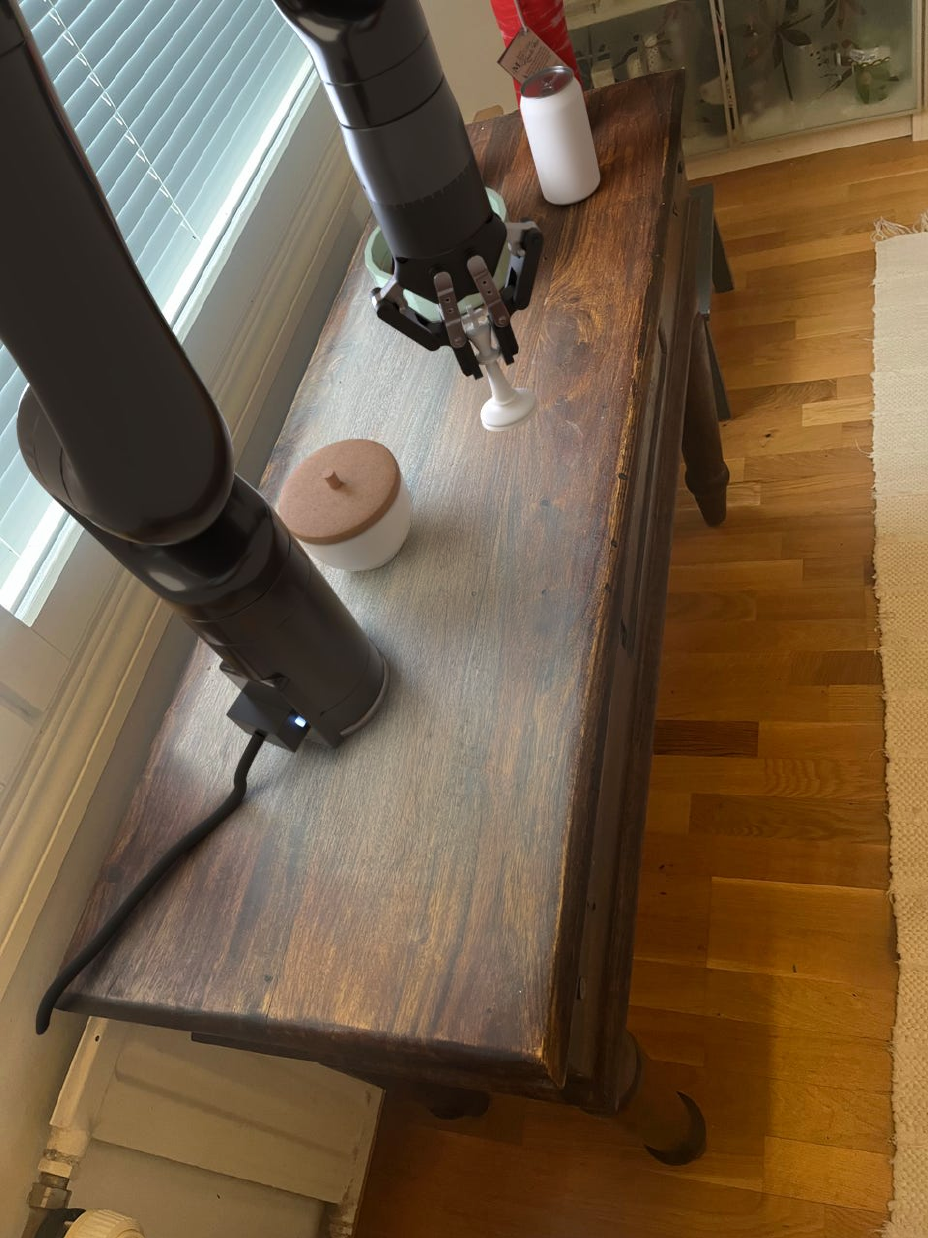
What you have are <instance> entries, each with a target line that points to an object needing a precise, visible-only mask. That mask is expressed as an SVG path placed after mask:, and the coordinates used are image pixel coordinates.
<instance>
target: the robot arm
mask: <svg viewBox="0 0 928 1238" xmlns="http://www.w3.org/2000/svg"><path fill="white" fill-rule="evenodd" d="M270 1H271V2H272V4H273V5H274V7H275V8H276V9H277V11H278V12H279V15H281V17H282V18H283V20H284V21H285V22H286V24H287V25H288V26H289V28H291V30H292V31H293V32H294V34H295V35H296V36H297V37H298V38H299V40H300V41H301V43H302V44H303V45H304V47H305V49H306V50H307V53H308V54H309V56H310V58H311V61H312V64H313V67H314V69H315V71H316V74H317V76H318V79H319V81H320V83H321V86H322V88H323V91H324V92H325V94H326V97H327V99H328V101H329V105H330V106H331V108H332V111H333V113H334V115H335V117H336V119H337V122H338V123H337V124H338V125H339V128H340V130H341V134H342V137H343V141H344V144H345V148H346V151H347V155H348V158H349V160H350V162H351V164H352V167H353V170H354V174H355V177H356V179H357V180H358V182H359V183H360V186H361V187H362V190H363V192H364V194H365V196H366V199H367V201H368V203H369V205H370V208H371V210H372V213H373V215H374V217H375V219H376V221H377V225H379V226H380V228H381V231H382V233H383V235H384V238H385V240H386V242H387V244H388V247H389V249H390V251H391V254H392V263H391V270H392V273H393V276H392V277H391V278H390V279H389V281H388V282H387V283H386V284H385V286H384V287H383V288H380V287H374V288H373V289H372V290H371V291H370V293H369V299H370V301H371V304H372V306H373V308H374V311H375V314H376V316H377V318H378V319H379V320H380V321H382V322H384V323H385V324H387V325H388V326H390V327H391V328H392V329H394V330H396V331H398V332H399V333H401V334H402V335H404V336H405V337H407V338H409V339H410V340H411V341H413V342H415V343H416V344H418V345H419V346H421V347H422V348H424V349H425V350H427V351H429V352H437V351H438V350H439V349H440V348H441V347H449V348H451V351H452V353H453V354H454V357H455V359H456V362H457V364H458V366H459V369H460V370H461V372H462V374H463V375H464V376H465V377H466V378H469V377H470V376H473V378H474V380H475V381H478V380H480V379H482V378H484V374H483V372H482V368H481V365H479V364H478V361H477V359H476V353H475V352H474V349H473V346H472V342H470V341H469V339H468V337H467V335H466V331H465V329H464V327H463V322H462V319H461V317H462V314H461V315H460V312H459V308H458V304H457V303H459V302H460V301H461V300H463V299H464V298H465V297H466V296H469V295H474V294H478V293H479V294H480V296H481V298H482V300H483V302H484V303H483V304H484V306H485V308H486V311H487V315H486V316H485V317H486V319H487V322H488V323H489V324H490V326H491V334H492V336H493V339H494V341H495V344H496V347H498V348H499V349H500V351H501V355H500V357H501V358H502V360H503V362H504V364H505V366H506V367H509V366H510V365H512V364H514V363H516V361H515V358H514V356H516V355H518V354H519V351H520V350H519V349H520V346H519V344H518V340H517V338H516V335H515V332H514V329H513V326H512V323H511V319H512V316H513V315H514V314H515V313H516V312H518V311H524V310H526V309H527V308H528V307H529V306H530V303H531V299H532V294H533V290H534V286H535V282H536V278H537V273H538V269H539V265H540V261H541V256H542V251H543V247H544V244H545V243H544V242H545V237H544V235H543V233H542V232H541V230H540V228H539V226H538V225H537V223H536V222H535V221H534V219H533V218H532V217H530V216H528V215H527V216H523V217H521V218H519V220H518V222H512V221H510V222H503V221H502V219H501V217H500V216H499V215H498V214H497V213H496V212H494V211H493V209H492V207H491V204H490V200H489V197H488V194H487V191H486V188H487V187H486V185H485V182H484V180H483V176H482V173H481V170H480V166H479V164H478V161H477V158H476V154H475V151H474V149H473V145H472V143H471V139H470V136H469V133H468V129H467V127H466V124H465V121H464V118H463V114H462V111H461V108H460V106H459V104H458V103H459V102H457V99H456V97H455V95H454V92H453V91H452V89H451V87H450V85H449V82H448V80H447V78H446V75H445V72H444V70H443V66H442V63H441V60H440V57H439V54H438V52H437V48H436V46H435V45H436V44H435V41H434V39H433V36H432V33H431V30H430V27H429V25H428V20H427V18H426V15H425V12H424V9H423V7H422V4H421V2H420V0H270ZM485 187H486V188H485ZM505 241H507V242H508V243H507V245H508V248H509V249H510V251H511V253H512V254H511V259H510V263H509V268H508V273H507V278H506V283H505V285H504V288H503V290H501V291H498V290H497V288H496V286H495V283H494V281H493V277H494V275H495V272H496V269H497V266H498V263H499V260H500V257H501V253H502V250H503V247H504V244H505ZM404 289H406V290H408V291H410V292H412V293H414V294H416V295H418V296H420V297H422V298H424V299H426V300H428V301H430V302H432V303H434V304H436V306H437V309H438V312H439V316H440V319H441V320H440V321H430V320H429V319H427V318H426V317H424V316H423V315H421V314H420V313H418V312H417V311H415V310H414V309H412V308H411V307H409V306H408V301H407V299H406V297H405V295H404V293H403V292H404ZM0 342H1V343H2V344H3V346H4V347H5V349H6V350H7V352H8V353H9V354H10V356H11V357H12V359H13V361H14V362H15V363H16V365H17V367H18V369H19V370H20V372H21V373H22V375H23V376H24V378H25V380H26V382H27V385H26V387H24V389H23V390H24V391H23V392H22V394H21V397H20V399H19V403H18V407H17V412H16V424H15V425H16V427H15V428H16V437H17V443H18V447H19V451H20V453H21V457H22V458H23V462H24V463H25V465H26V466H27V469H28V470H29V472H30V473H31V475H32V477H34V479H35V480H36V482H37V483H38V484H39V485H40V486H41V487H42V488H43V490H45V492H47V494H49V495H50V496H51V498H52V499H54V501H55V502H57V504H58V505H60V506H61V507H62V508H63V509H64V510H65V511H66V512H67V513H68V514H69V515H70V516H71V517H72V518H73V519H74V520H75V521H76V522H77V523H78V524H79V525H80V526H81V527H82V528H83V529H84V530H85V531H86V532H87V533H88V534H90V536H92V537H93V538H94V539H95V540H96V541H97V542H98V543H99V544H100V545H101V546H102V547H103V548H104V549H105V550H106V551H107V552H108V553H110V554H111V555H112V556H113V557H114V558H115V560H116V561H117V562H118V563H120V564H121V565H122V566H123V567H124V568H125V569H126V570H127V571H128V572H130V573H131V575H133V576H134V577H135V578H137V580H139V581H140V582H141V583H142V584H143V585H145V586H146V587H147V588H148V589H149V590H150V591H152V593H154V594H155V595H156V596H157V597H158V598H159V599H160V600H161V601H163V602H164V603H165V604H166V605H167V606H168V607H169V608H170V609H171V610H172V611H173V612H174V613H175V614H176V615H177V616H178V617H179V618H180V619H181V620H182V621H183V622H184V623H185V624H186V625H187V626H188V627H189V628H190V629H191V630H192V631H193V632H194V633H195V634H196V635H197V636H198V637H199V638H200V639H201V640H202V641H203V642H204V643H205V644H206V646H207V647H209V648H210V649H211V650H212V651H213V652H214V653H215V654H216V655H217V656H218V657H219V658H220V659H221V662H220V664H219V666H218V668H219V671H220V672H221V673H223V675H225V677H226V678H228V680H230V681H231V683H232V684H233V685H234V686H235V687H237V688H238V689H239V690H240V692H239V694H238V695H237V697H236V698H235V700H234V701H233V703H232V704H231V706H230V707H229V709H228V710H227V712H226V713H225V716H226V717H227V718H229V719H230V720H231V721H232V722H233V723H234V724H235V725H236V726H237V727H238V728H239V729H241V730H242V731H243V732H244V733H245V734H247V735H249V736H251V738H250V739H249V741H248V743H247V745H246V747H245V749H244V751H243V753H242V755H241V757H240V759H239V761H238V763H237V766H236V768H235V771H234V774H233V789H232V790H231V792H230V794H229V795H228V796H227V797H226V799H225V800H224V801H223V802H222V803H221V804H220V805H219V807H218V808H217V809H216V810H215V811H213V812H212V813H211V814H210V815H209V816H208V817H206V818H205V819H204V820H203V821H201V822H200V823H199V824H197V825H196V826H195V827H194V828H193V829H191V830H190V831H189V832H188V833H186V834H185V835H184V836H182V838H181V839H179V840H178V841H176V843H175V844H174V845H173V846H172V847H171V848H169V850H167V851H166V852H165V853H164V854H163V856H161V858H160V859H159V860H158V861H157V862H156V863H155V864H154V865H153V867H152V868H151V869H150V870H149V871H148V872H147V873H146V874H145V875H144V876H143V877H142V879H141V880H140V881H139V882H138V883H137V885H135V887H134V888H133V889H132V891H130V893H129V894H128V896H126V898H125V899H124V901H123V902H122V903H121V904H120V905H119V907H118V908H117V909H116V910H115V912H114V913H113V914H112V915H111V917H110V918H109V919H108V920H107V922H105V924H104V926H103V927H102V928H101V929H100V931H99V932H98V933H97V934H96V935H95V936H94V937H93V939H92V940H91V941H90V942H89V943H88V944H87V945H86V947H85V948H84V949H83V950H82V951H80V953H79V954H78V955H77V956H76V957H75V958H73V960H72V961H71V962H70V963H69V964H68V965H67V966H66V967H65V968H64V969H63V970H62V971H61V973H60V974H59V975H58V976H56V978H55V979H54V981H53V982H52V983H51V985H50V986H49V987H48V988H47V990H46V992H45V993H44V994H43V996H42V999H41V1001H40V1003H39V1005H38V1008H37V1011H36V1014H35V1015H36V1016H35V1034H36V1035H38V1036H41V1035H43V1034H45V1032H46V1031H47V1030H48V1029H49V1026H50V1024H51V1017H52V1014H53V1011H54V1008H55V1006H56V1003H57V1002H58V1000H59V998H60V997H61V996H62V995H63V992H64V991H65V990H66V989H67V988H68V987H69V985H70V984H71V983H72V982H73V981H74V980H75V979H76V977H78V975H79V974H80V973H81V972H83V970H84V969H85V968H86V967H87V966H88V965H89V964H90V963H91V962H92V961H93V960H94V959H95V958H96V956H98V955H99V953H101V951H102V950H103V949H104V948H105V946H107V944H108V943H109V942H110V941H111V940H112V938H113V937H114V936H115V934H116V933H117V932H118V930H120V928H121V927H122V926H123V924H124V923H125V922H126V920H127V919H128V918H129V917H130V916H131V914H132V913H133V912H134V910H136V908H137V906H138V905H139V904H140V903H141V902H142V901H143V899H144V898H145V897H146V896H147V895H148V893H149V892H150V891H151V889H153V887H154V886H155V885H156V883H158V882H159V880H160V879H161V878H162V877H163V876H164V875H165V874H166V873H167V872H168V870H170V868H171V867H172V866H173V865H175V863H176V862H177V861H178V860H179V859H180V858H181V857H182V856H183V855H184V854H185V853H186V852H187V851H189V850H190V849H191V848H192V847H193V846H194V845H196V844H197V843H198V842H200V840H202V839H203V838H205V836H207V835H208V834H209V833H210V832H212V830H214V829H215V828H216V827H217V826H219V825H220V823H222V822H223V821H224V820H225V819H226V818H227V817H228V816H230V814H231V813H232V812H234V810H236V808H237V807H238V806H239V804H241V802H242V800H243V798H244V797H245V796H246V793H247V789H248V780H247V779H248V775H249V773H250V769H251V767H252V766H253V763H254V761H255V759H256V757H257V755H258V754H259V752H260V750H261V748H262V746H263V744H264V742H267V743H269V744H271V745H273V746H276V747H278V748H281V749H284V750H286V751H288V752H290V753H293V754H296V753H297V751H298V749H300V746H301V745H302V743H303V742H304V740H306V741H312V742H314V743H317V744H319V745H322V746H325V747H327V748H330V749H332V750H335V749H337V748H338V747H339V745H340V744H341V742H342V741H343V739H344V738H345V737H347V736H349V735H352V734H354V733H355V732H356V731H359V730H360V729H362V727H364V726H365V725H366V724H367V723H369V722H370V720H371V719H372V718H373V717H374V716H375V715H376V714H377V712H378V711H379V709H380V708H381V706H382V705H383V702H384V701H385V699H386V696H387V693H388V690H389V684H390V669H389V664H388V661H387V660H386V657H385V655H384V654H383V653H382V651H381V650H380V649H379V647H378V646H377V645H376V644H374V642H373V640H372V639H371V638H370V637H369V636H368V635H367V633H366V632H365V630H364V629H363V628H362V626H361V625H360V624H359V622H358V621H357V620H356V618H355V616H353V614H352V613H351V611H350V610H349V609H348V607H347V606H346V605H345V603H344V602H343V601H342V599H341V598H340V597H339V595H338V593H336V591H335V590H334V588H333V587H332V586H331V584H330V583H329V581H327V578H326V577H325V576H324V575H323V573H322V572H321V571H320V569H319V568H318V567H317V566H316V564H315V562H313V560H312V558H311V557H310V556H309V554H308V552H307V551H306V550H305V549H304V548H303V547H302V546H301V544H300V543H299V542H298V541H297V539H296V538H295V537H294V535H293V534H292V533H291V531H290V530H289V529H288V527H287V526H286V525H285V523H284V522H283V521H282V519H281V518H280V516H279V513H277V511H276V510H275V508H274V507H273V506H272V505H271V503H270V502H269V500H268V499H266V497H265V496H264V495H262V494H261V493H260V492H259V491H258V490H257V489H255V488H254V487H253V486H252V485H251V484H250V483H249V482H248V481H246V480H245V479H244V478H242V476H241V475H239V474H238V473H237V472H236V471H235V466H236V465H235V464H236V463H235V462H236V461H235V451H234V444H233V440H232V436H231V432H230V429H229V426H228V423H227V421H226V419H225V417H224V414H223V412H222V410H221V409H220V407H219V405H218V403H217V401H216V400H215V398H214V396H213V395H212V393H211V392H210V389H209V388H208V386H207V385H206V383H205V381H204V380H203V378H202V377H201V375H200V373H199V372H198V369H196V367H195V364H193V362H192V360H191V358H190V357H189V356H188V354H187V352H186V351H185V349H184V347H183V345H182V344H181V342H180V340H179V339H178V337H177V335H176V333H175V332H174V330H173V329H172V327H171V325H170V324H169V322H168V320H167V319H166V317H165V315H164V314H163V312H162V310H161V309H160V307H159V305H158V304H157V301H156V300H155V298H154V296H153V294H152V292H151V290H150V289H149V287H148V285H147V284H146V281H145V279H144V277H143V276H142V274H141V272H140V269H139V267H138V266H137V264H136V262H135V260H134V258H133V255H132V253H131V251H130V249H129V247H128V244H127V242H126V239H125V238H124V235H123V233H122V230H121V229H120V226H119V223H118V221H117V219H116V217H115V215H114V211H113V209H112V208H111V206H110V203H109V201H108V199H107V196H106V194H105V192H104V190H103V188H102V185H101V183H100V180H99V178H98V176H97V174H96V172H95V170H94V167H93V166H92V163H91V161H90V159H89V157H88V155H87V152H86V151H85V148H84V146H83V144H82V143H81V140H80V137H79V136H78V134H77V132H76V130H75V127H74V125H73V123H72V121H71V119H70V117H69V115H68V112H67V111H66V107H65V105H64V104H63V101H62V99H61V97H60V95H59V93H58V90H57V88H56V86H55V83H54V81H53V79H52V76H51V73H50V71H49V69H48V67H47V64H46V62H45V59H44V57H43V54H42V52H41V50H40V48H39V45H38V43H37V41H36V38H35V36H34V33H33V32H32V30H31V29H30V26H29V24H28V22H27V20H26V17H25V15H24V13H23V11H22V9H21V6H20V4H19V3H18V0H0Z"/></svg>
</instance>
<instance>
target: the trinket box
mask: <svg viewBox="0 0 928 1238" xmlns="http://www.w3.org/2000/svg"><path fill="white" fill-rule="evenodd" d="M401 471H402V470H401V469H400V465H399V462H398V461H397V459H396V457H395V456H394V454H393V452H392V451H391V450H390V449H389V448H388V447H387V446H385V445H384V444H383V443H381V442H377V441H375V440H371V439H367V438H350V439H349V438H348V439H344V440H340V441H336V442H332V443H331V444H328V445H326V446H324V447H322V448H320V449H317V450H316V451H314V452H313V453H311V454H310V455H309V456H307V457H306V458H304V460H302V461H301V462H300V463H299V464H298V465H296V467H295V468H294V469H293V470H292V472H291V473H290V474H289V476H288V477H287V479H286V480H285V482H284V484H283V486H282V489H281V491H280V494H279V499H278V515H279V517H280V518H281V519H282V521H283V522H284V523H285V525H286V526H287V527H288V529H289V530H290V531H291V533H292V534H293V535H294V537H295V538H296V539H297V541H298V542H299V544H300V545H301V546H302V548H303V549H304V551H305V552H306V553H309V554H310V555H311V556H312V557H313V558H314V559H316V560H317V561H318V562H320V563H322V564H323V565H325V566H327V567H330V568H332V569H335V570H340V571H345V572H359V571H360V572H361V571H362V572H365V571H372V570H375V569H378V568H380V567H382V566H384V565H386V564H388V563H389V562H390V561H391V560H393V559H394V558H395V557H396V556H397V554H398V553H399V552H400V550H401V549H402V547H403V545H404V543H405V541H406V540H407V537H408V535H409V532H410V529H411V525H412V522H413V521H412V520H413V504H412V499H411V497H412V496H411V494H410V490H409V488H408V484H407V481H406V480H405V477H404V475H403V473H402V472H401Z"/></svg>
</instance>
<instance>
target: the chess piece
mask: <svg viewBox="0 0 928 1238" xmlns="http://www.w3.org/2000/svg"><path fill="white" fill-rule="evenodd" d="M466 309H467V312H466V313H467V314H465V315H463V316H461V322H462V325H464V326H465V325H467V324H470V323H471V325H470V326H468V328H467V329H466V331H465V333H466V335H467V337H468V339H469V341H470V343H471V344H472V345H473V346H474V348H475V349H477V351H478V352H477V353H475V356H476V359H477V361H478V364H479V366H485V369H486V373H487V377H488V381H489V385H490V390H491V393H492V396H491V397H490V398H489V399H488V400H487V401H486V402H485V403H484V405H482V408H481V410H480V419H481V424H482V426H483V427H484V429H486V430H488V431H490V432H494V433H503V432H508V431H513V430H515V429H519V427H522V426H524V425H525V424H526V423H528V422H529V421H531V420H532V419H533V418H534V416H535V415H536V414H537V412H538V410H539V406H540V401H539V399H538V397H536V394H535V393H534V392H533V391H532V390H531V389H528V388H525V387H512V386H511V384H510V382H509V381H508V379H507V377H506V376H505V374H504V372H503V370H502V368H501V367H500V364H499V361H498V360H499V358H500V357H501V351H500V349H499V348H498V347H497V345H492V330H491V326H490V324H489V322H488V321H478V319H480V318H482V317H485V313H484V311H483V309H482V308H481V307H480V308H477V309H476V310H475V309H473V307H472V305H471V304H470V305H468V306H466Z"/></svg>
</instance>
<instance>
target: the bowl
mask: <svg viewBox="0 0 928 1238" xmlns="http://www.w3.org/2000/svg"><path fill="white" fill-rule="evenodd" d="M485 188H486V191H487V194H488V197H489V200H490V204H491V207H492V209H493V211H494V212H496V213H497V214H498V215H499V216H500V217H501V219H502V221H503V222H511V220H510V216H509V213H508V210H507V207H506V206H507V205H506V203H505V199H504V198H503V197H502V196H501V195H500V194H499V193H497V192H496V191H495V190H494V189H493V188H490V187H487V186H485ZM507 243H508V242H507V241H505V244H504V247H503V250H502V253H501V257H500V260H499V263H498V266H497V269H496V272H495V275H494V277H493V281H494V283H495V286H496V288H497V290H498V292H500V291H501V289H502V288H503V287H505V283H506V278H507V273H508V268H509V263H510V259H511V254H512V253H511V251H510V249H509V248H508V245H507ZM364 260H365V265H366V266H365V267H366V269H367V270H368V272H369V274H370V277H371V278H372V281H373V283H374V286H375V288H377V287H380V288H383V287H384V286H385V284H386V283H387V282H388V281H389V279H390V278H391V277H392V276H393V275H391V273H390V265H391V263H392V254H391V251H390V249H389V247H388V244H387V242H386V240H385V238H384V235H383V233H382V231H381V228H380V226H379V224H377V226H376V228H375V229H374V230H373V232H372V233H371V234H370V235H369V238H368V241H367V243H366V246H365V249H364ZM403 293H404V295H405V297H406V299H407V301H408V306H409V307H411V308H412V309H414V310H415V311H417V312H418V313H420V314H421V315H423V316H424V317H426V318H427V319H429V320H430V321H432V322H440V321H441V319H440V316H439V312H438V309H437V306H436V304H434V303H432V302H430V301H428V300H426V299H424V298H422V297H420V296H418V295H416V294H414V293H412V292H410V291H408V290H406V289H404V292H403ZM457 304H458V308H459V312H460V315H461V316H462V315H463V314H467V313H468V312H467V309H466V306H468V305H470V304H471V305H472V307H473V310H475V309H476V308H478V307H480V306H481V305H483V304H484V302H483V300H482V298H481V296H480V294H479V293H478V294H474V295H469V296H466V297H465V298H464V299H463V300H461V301H460V302H459V303H457Z"/></svg>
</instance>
